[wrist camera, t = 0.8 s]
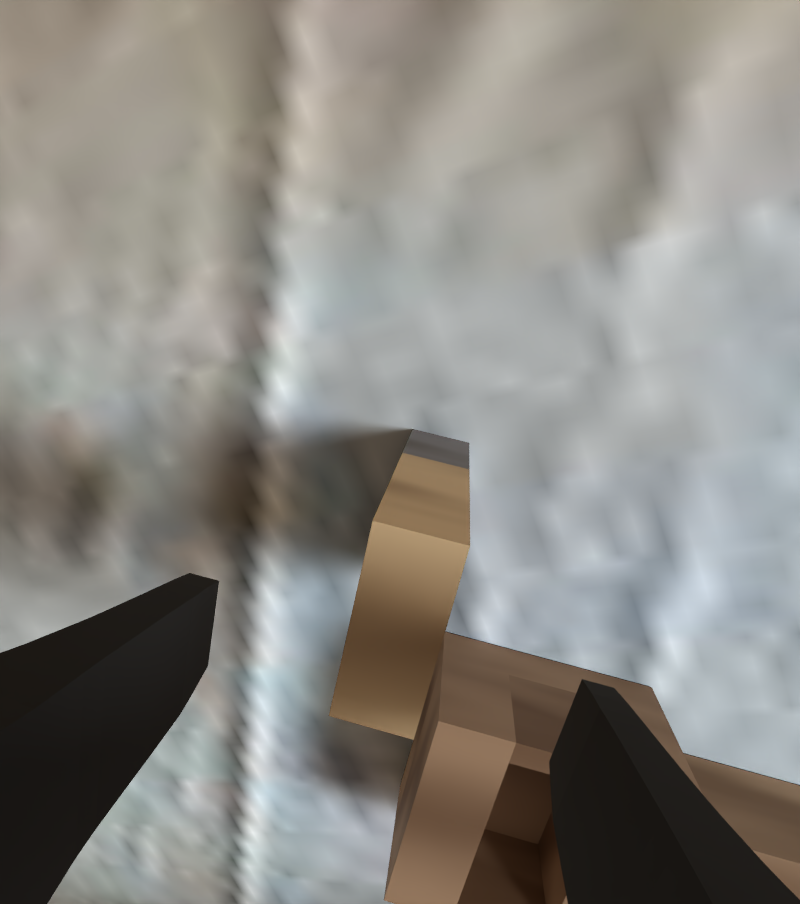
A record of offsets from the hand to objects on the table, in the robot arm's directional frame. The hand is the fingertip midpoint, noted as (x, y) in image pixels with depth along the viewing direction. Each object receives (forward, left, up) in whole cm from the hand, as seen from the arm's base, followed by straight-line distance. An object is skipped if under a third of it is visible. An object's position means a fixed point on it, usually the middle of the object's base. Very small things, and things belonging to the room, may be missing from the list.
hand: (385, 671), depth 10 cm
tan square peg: (0, 0, -9) cm, 9 cm away
